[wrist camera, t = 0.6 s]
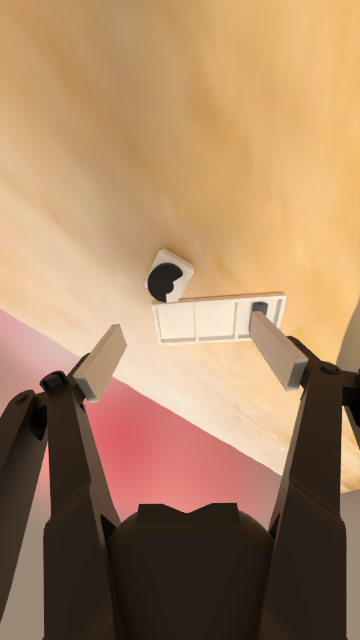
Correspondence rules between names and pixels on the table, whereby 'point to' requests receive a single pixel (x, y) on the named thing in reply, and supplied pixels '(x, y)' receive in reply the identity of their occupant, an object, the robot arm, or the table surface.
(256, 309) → the grey cylinder
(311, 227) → the table surface
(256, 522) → the robot arm
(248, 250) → the table surface
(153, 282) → the medicine bottle
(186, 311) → the organiser
